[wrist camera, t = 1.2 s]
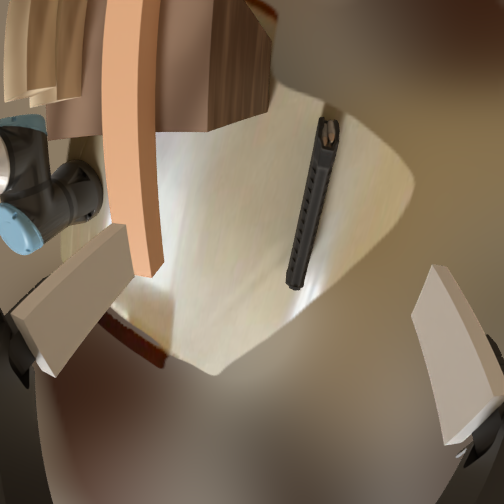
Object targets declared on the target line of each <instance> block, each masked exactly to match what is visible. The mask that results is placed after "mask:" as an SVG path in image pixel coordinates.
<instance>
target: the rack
mask: <svg viewBox="0 0 504 504" xmlns="http://www.w3.org/2000/svg"><path fill="white" fill-rule="evenodd" d="M106 7H107V0H11V1H10V2H9V7H8V14H7V23H6V32H5V47H4V100H5V102H9V101H13V100H17V99H23V98H27V97H30V107H36V106H40V105H45V104H46V119H47V135H48V141H49V140H57V139H65V138H74V137H83V136H93V135H103V130H102V53H103V37H104V25H105V15H106ZM271 44H272V41H271V40H270V38H269V36H268V35H267V33H266V32H265V30H264V29H263V27H262V26H261V24H260V23H259V21H258V20H257V18H256V17H255V16H254V14H253V13H252V11H251V10H250V8H249V7H248V6H247V4H246V3H245V1H244V0H161V2H160V12H159V24H158V37H157V55H156V83H155V132H209V131H212V130H215V129H217V128H220V127H223V126H226V125H229V124H232V123H235V122H238V121H241V120H244V119H247V118H250V117H253V116H256V115H260V114H263V113H266V112H267V109H268V93H269V77H270V61H271Z"/></svg>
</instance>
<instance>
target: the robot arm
mask: <svg viewBox="0 0 504 504" xmlns="http://www.w3.org/2000/svg"><path fill="white" fill-rule="evenodd" d="M47 136H48V135H47V132H46V126H45V120H44V118H43V117H42V116H41V115H37V114H28V115H19V116H15V117H7V118H3V119H0V198H1V203H0V235H1V237H2V239H3V240H4V241H5V243H6V244H7V245H8V246H9V247H10V248H11V249H12V250H13V251H15V252H17V253H18V254H21V255H28V254H31V253H32V252H34V251H35V250H37V249H39V248H41V247H42V246H43V244H45V243H46V242H48V241H49V240H50V239H52V238H53V237H54V236H56V235H57V234H58V233H60V232H61V231H62V230H64V229H65V228H66V227H68V226H70V225H75V224H81V223H85V222H87V221H89V220H91V219H92V218H94V217H95V216H96V215H97V214H98V213H99V211H100V209H101V206H102V201H103V192H102V187H101V183H100V180H99V178H98V176H97V174H96V173H95V171H94V170H93V169H92V168H91V167H90V166H89V165H88V164H87V163H85V162H83V161H80V160H71V161H69V162H66V163H64V164H62V165H61V166H60V167H59V168H58V169H57V170H56V171H55V172H54V173H53V174H52V175H51V173H50V165H49V154H48V142H47ZM134 277H135V275H134V270H133V265H132V259H131V253H130V247H129V241H128V235H127V228H126V225H125V224H117V223H112V224H111V225H109V226H108V227H107V228H105V229H104V230H103V231H102V232H100V233H99V234H98V235H97V236H95V237H94V238H93V239H92V240H90V241H89V242H88V243H87V244H86V245H84V246H83V247H82V248H81V249H80V250H78V251H77V252H76V253H75V254H74V255H72V256H71V257H70V258H69V259H68V260H67V261H66V262H64V263H63V264H62V265H61V266H60V267H59V268H58V269H56V270H55V271H54V272H53V273H52V274H50V275H49V276H47V277H45V278H43V279H42V280H41V281H40V282H39V283H38V284H37V285H36V286H35V288H32V289H31V290H30V291H29V292H28V294H26V295H25V296H24V297H23V298H22V299H21V300H20V301H19V302H18V303H17V304H16V305H15V306H14V307H13V308H12V309H11V310H10V311H9V312H8V313H7V314H6V315H5V316H4V315H3V313H2V310H1V308H0V504H53V502H52V498H51V494H50V490H49V486H48V482H47V477H46V473H45V467H44V462H43V457H42V451H41V444H40V437H39V430H38V421H37V411H36V395H35V371H34V368H33V366H32V363H33V362H34V361H35V360H36V362H37V363H38V365H39V366H40V368H41V370H42V371H44V372H46V373H48V374H50V375H52V376H53V377H55V378H56V377H57V375H58V374H59V373H60V371H61V370H62V368H63V367H64V366H65V364H66V363H67V361H68V360H69V359H70V357H71V356H72V355H73V353H74V352H75V351H76V349H77V348H78V347H79V345H80V344H81V343H82V341H83V340H84V338H85V337H86V336H87V335H88V333H89V332H90V331H91V330H92V328H93V327H94V326H95V324H96V323H97V322H98V321H99V319H100V318H101V317H102V316H103V314H104V313H105V312H106V311H107V309H108V308H109V307H110V306H111V304H112V303H113V302H114V301H115V299H116V298H117V297H118V296H119V295H120V293H121V292H122V291H123V290H124V289H125V287H126V286H127V285H128V284H129V283H130V281H131V280H132V279H133V278H134ZM411 317H412V320H413V323H414V326H415V329H416V332H417V335H418V338H419V342H420V345H421V348H422V352H423V355H424V358H425V362H426V366H427V369H428V373H429V377H430V380H431V385H432V388H433V393H434V397H435V401H436V406H437V410H438V414H439V420H440V425H441V430H442V435H443V441H444V445H450V444H455V443H461V442H463V441H464V440H465V439H466V438H467V437H468V436H470V434H472V436H473V441H472V442H471V443H470V444H469V445H468V446H466V447H465V448H464V449H463V450H461V451H460V452H459V453H458V454H457V456H456V457H457V458H458V457H460V456H461V455H462V454H464V453H465V454H464V456H463V458H462V459H461V461H460V463H459V465H458V467H457V469H456V471H455V473H454V474H453V476H452V478H451V480H450V481H449V483H448V485H447V486H446V488H445V490H444V491H443V493H442V495H441V496H440V498H439V499H438V501H437V502H436V504H504V359H503V357H501V356H502V354H501V352H500V350H499V348H498V346H497V344H496V343H495V342H494V341H493V339H491V337H490V336H489V335H486V334H485V333H484V331H483V329H482V328H481V326H480V324H479V322H478V320H477V318H476V316H475V314H474V312H473V311H472V309H471V307H470V305H469V303H468V302H467V300H466V298H465V296H464V295H463V293H462V291H461V289H460V288H459V286H458V285H457V283H456V281H455V279H454V278H453V276H452V275H451V273H450V271H449V270H448V268H447V267H446V266H440V265H433V264H432V266H431V268H430V271H429V274H428V276H427V279H426V281H425V284H424V286H423V289H422V291H421V294H420V296H419V298H418V301H417V303H416V305H415V308H414V310H413V312H412V314H411Z"/></svg>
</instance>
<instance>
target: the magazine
mask: <svg viewBox="0 0 504 504" xmlns="http://www.w3.org/2000/svg"><path fill="white" fill-rule="evenodd" d="M339 132H340V131H339V123H338V121H337V120H335V119H334V121H333V120H328V121H326V120H324V117H320V118H319V121H318V126H317V131H316V136H315V142H314V147H313V152H312V157H311V162H310V167H309V172H308V177H307V182H306V186H305V191H304V196H303V201H302V205H301V210H300V215H299V220H298V224H297V229H296V234H295V238H294V243H293V248H292V252H291V257H290V261H289V266H288V270H287V272H286V284H287V285H288V286H289V288H290V289H293V290H300V288H302V287H303V286H304V280H305V276H306V272H307V268H308V264H309V259H310V255H311V252H312V248H313V244H314V240H315V236H316V232H317V228H318V224H319V219H320V215H321V212H322V207H323V204H324V199H325V195H326V192H327V187H328V183H329V179H330V175H331V172H332V167H333V163H334V160H335V156H336V152H337V147H338V143H339Z"/></svg>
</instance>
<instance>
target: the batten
mask: <svg viewBox="0 0 504 504" xmlns="http://www.w3.org/2000/svg"><path fill="white" fill-rule="evenodd" d="M160 2H161V0H107V7H106V15H105V25H104V37H103V53H102V130H103V147H104V160H105V171H106V181H107V190H108V198H109V205H110V213H111V219H112V223H117V224H125V225H126V228H127V235H128V241H129V247H130V253H131V259H132V265H133V270H134V275H138V276H144V277H149V278H152V277H153V276H154V275H155V273H156V272H157V271H158V269H159V268H160V267H161V266H162V264H163V263H164V255H163V246H162V236H161V225H160V214H159V200H158V185H157V166H156V137H155V83H156V55H157V37H158V24H159V12H160Z"/></svg>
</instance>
